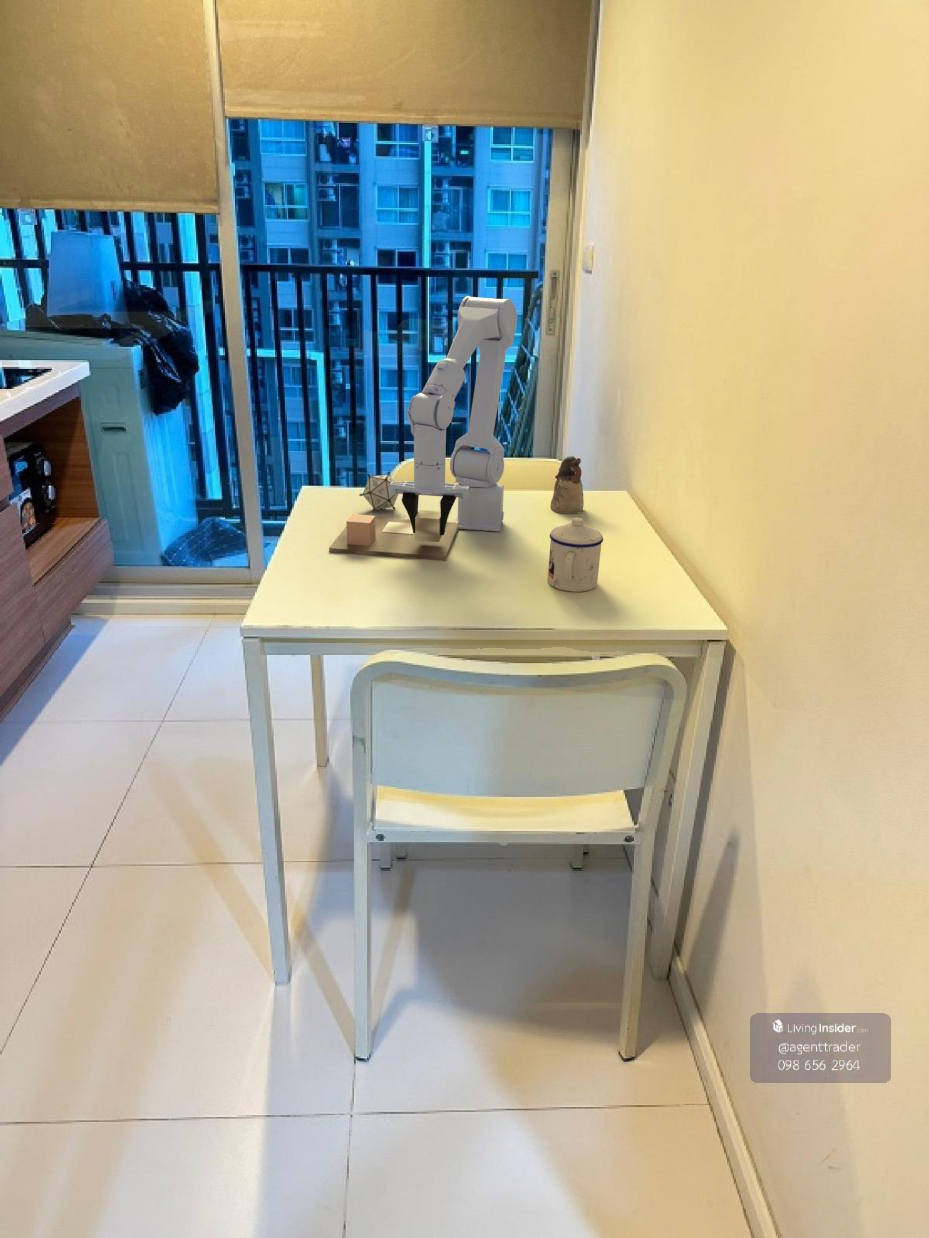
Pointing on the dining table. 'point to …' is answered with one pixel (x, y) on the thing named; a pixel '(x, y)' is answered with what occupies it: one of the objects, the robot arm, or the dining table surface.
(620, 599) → the dining table surface
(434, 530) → the birch block
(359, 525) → the terracotta block
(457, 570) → the dining table surface
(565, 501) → the figurine
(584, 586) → the teacup with lid
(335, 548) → the brown wooden board
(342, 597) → the dining table surface
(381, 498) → the game die
